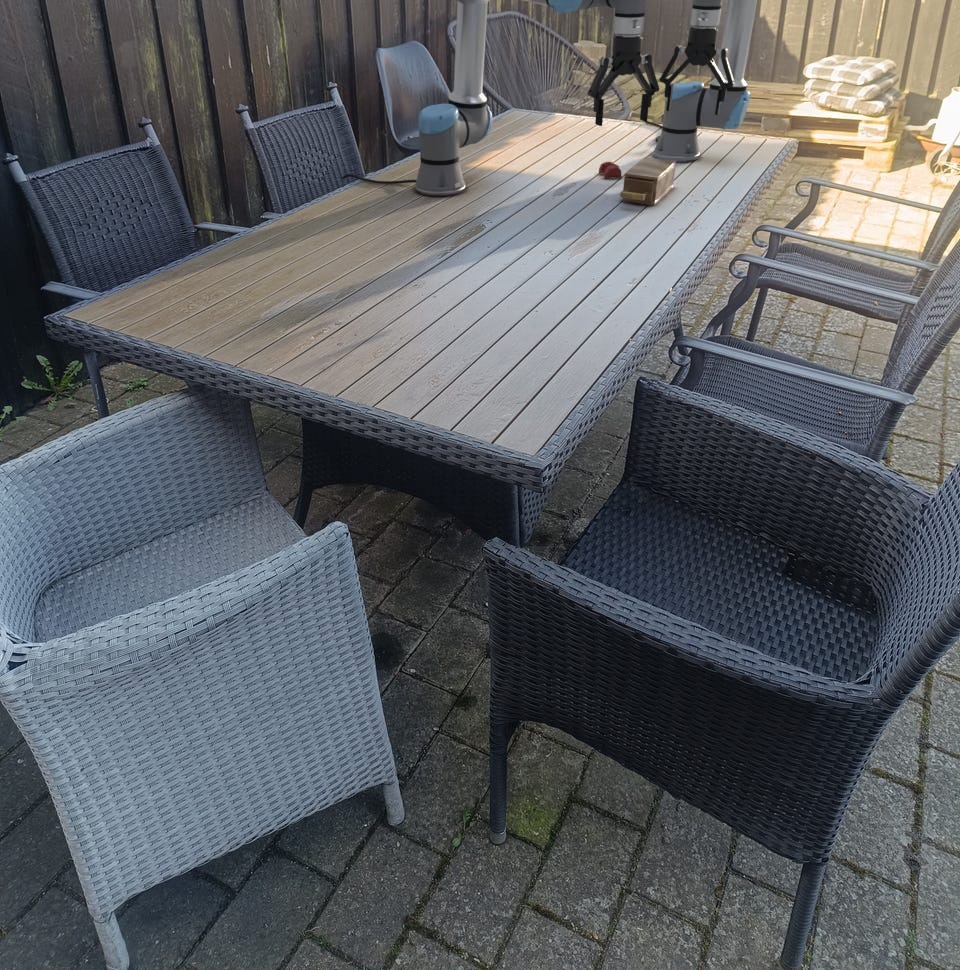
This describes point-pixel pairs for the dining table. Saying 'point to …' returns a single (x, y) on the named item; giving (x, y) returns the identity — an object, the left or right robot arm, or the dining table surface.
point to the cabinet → (654, 176)
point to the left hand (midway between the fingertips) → (621, 122)
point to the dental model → (610, 170)
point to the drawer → (638, 190)
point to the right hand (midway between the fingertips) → (692, 112)
